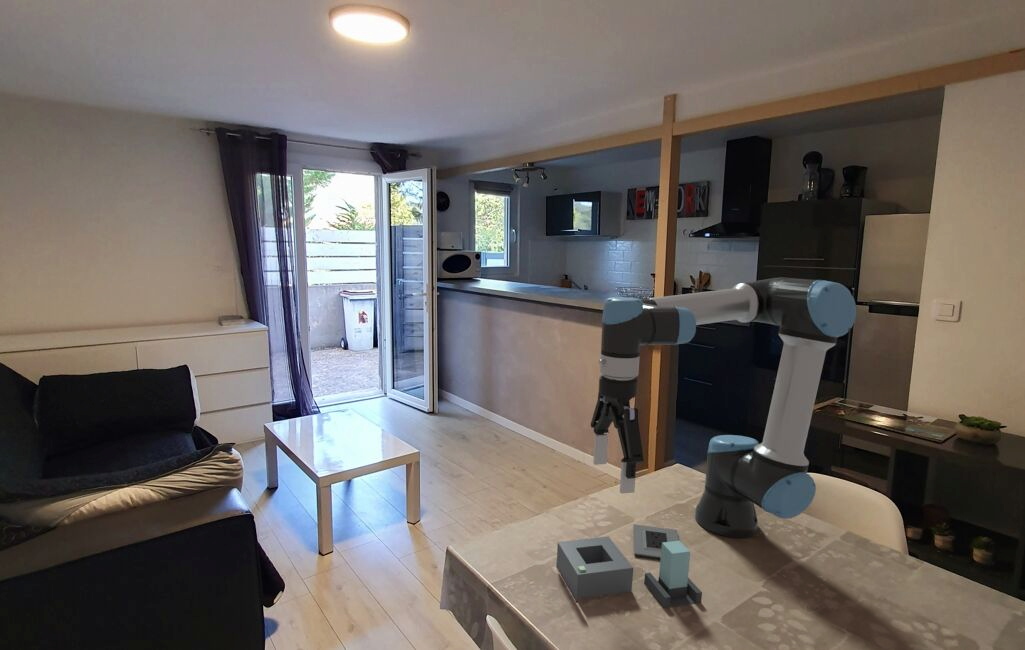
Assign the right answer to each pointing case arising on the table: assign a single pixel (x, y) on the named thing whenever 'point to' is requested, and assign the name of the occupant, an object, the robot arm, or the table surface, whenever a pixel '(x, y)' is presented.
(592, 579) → the port block
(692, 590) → the grey u-channel bracket
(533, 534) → the table surface
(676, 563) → the plug
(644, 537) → the electrical outlet
